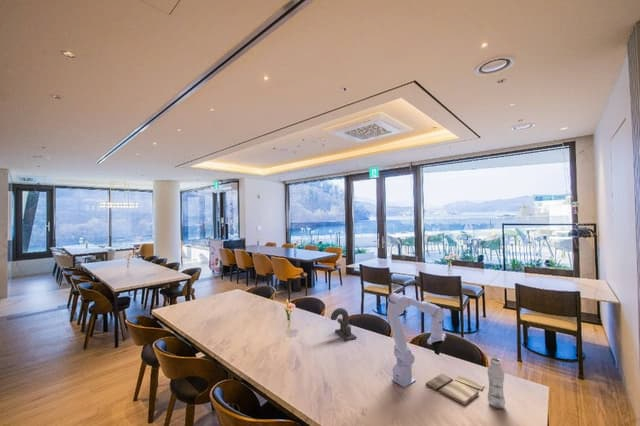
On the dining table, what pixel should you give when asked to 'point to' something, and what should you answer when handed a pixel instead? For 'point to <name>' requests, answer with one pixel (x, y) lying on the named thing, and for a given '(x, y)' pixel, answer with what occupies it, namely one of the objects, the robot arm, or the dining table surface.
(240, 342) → the dining table surface
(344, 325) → the faucet
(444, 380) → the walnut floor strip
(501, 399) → the plastic bottle
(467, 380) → the plank
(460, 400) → the oak plank
